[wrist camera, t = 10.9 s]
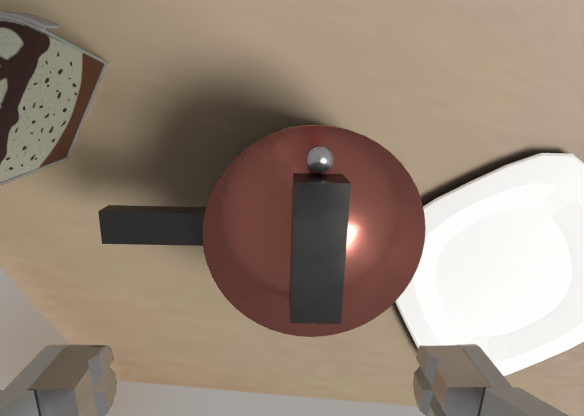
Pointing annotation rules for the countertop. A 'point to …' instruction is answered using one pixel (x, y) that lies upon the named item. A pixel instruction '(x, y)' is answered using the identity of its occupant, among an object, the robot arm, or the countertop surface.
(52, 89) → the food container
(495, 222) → the plate
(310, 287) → the lid
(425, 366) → the robot arm
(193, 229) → the pot
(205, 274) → the countertop surface
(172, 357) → the countertop surface
